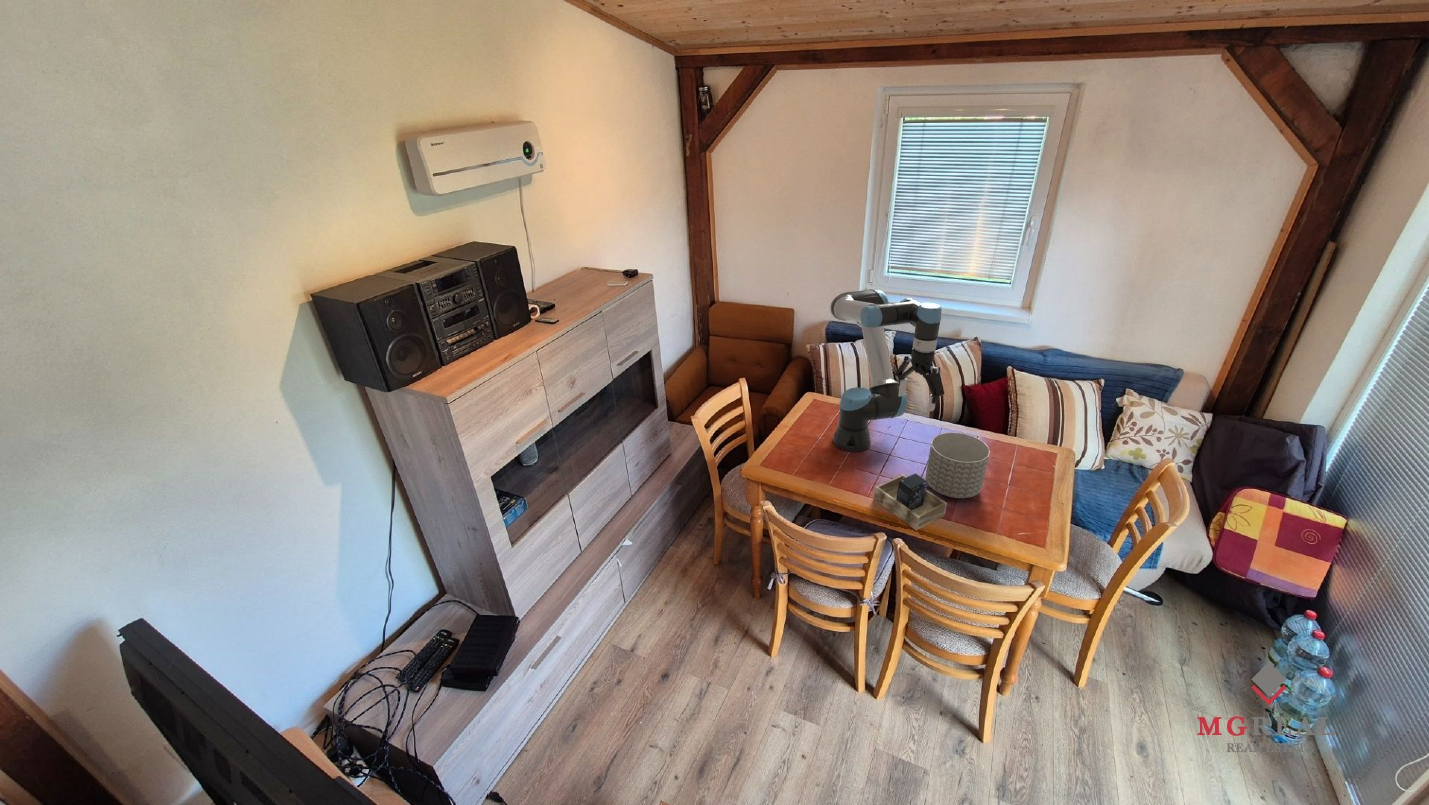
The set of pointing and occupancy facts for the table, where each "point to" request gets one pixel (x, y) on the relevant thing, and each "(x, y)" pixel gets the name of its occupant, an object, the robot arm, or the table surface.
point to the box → (911, 491)
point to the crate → (914, 518)
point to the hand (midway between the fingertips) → (915, 402)
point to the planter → (957, 465)
